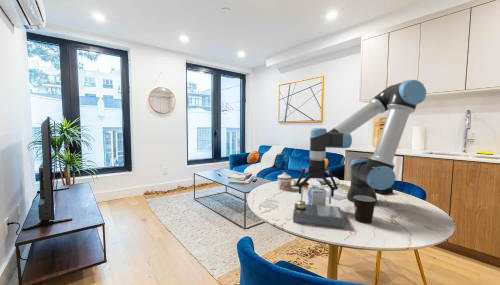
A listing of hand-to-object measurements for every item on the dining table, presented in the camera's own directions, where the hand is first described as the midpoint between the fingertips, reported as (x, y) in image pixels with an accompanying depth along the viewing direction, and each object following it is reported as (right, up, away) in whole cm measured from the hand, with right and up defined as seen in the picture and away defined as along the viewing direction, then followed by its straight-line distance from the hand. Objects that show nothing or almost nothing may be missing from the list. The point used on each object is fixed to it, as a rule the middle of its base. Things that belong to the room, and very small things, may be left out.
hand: (315, 201), depth 114 cm
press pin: (-10, -1, -12) cm, 15 cm away
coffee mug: (+17, -5, -13) cm, 23 cm away
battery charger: (+49, -3, +31) cm, 58 cm away
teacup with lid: (-9, -2, +34) cm, 35 cm away
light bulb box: (0, -4, 0) cm, 4 cm away
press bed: (-3, -4, -13) cm, 14 cm away
